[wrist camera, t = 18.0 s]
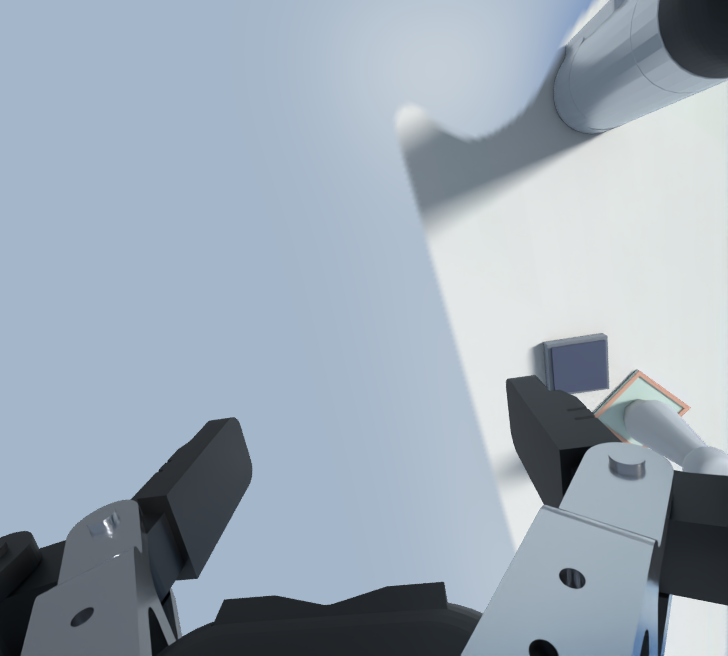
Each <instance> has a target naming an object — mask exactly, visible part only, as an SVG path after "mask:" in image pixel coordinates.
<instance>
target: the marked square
mask: <svg viewBox="0 0 728 656" xmlns="http://www.w3.org/2000/svg"><path fill="white" fill-rule="evenodd" d="M637 399H641V400H658V401H661V402H663V403H666V404H668V405H670V406H671V407H672V408H673V409H674V410H675V411H676V412H677V413H678V414H679V415H680V416H682V415H683V414H685V413H686V412H687V411H688V410H689V409H690V408H691V407H689V406H688V405H687V404H685V403H684V402H682V401H681V400H680V399H678V398H677V397H675V396H674V395H673V394H671V393H670V392H668V391H667V390H666V389H664V388H663V387H661V386H660V385H659V384H657V383H656V382H655V381H653V380H652V379H650V378H649V377H648V376H646V375H645V374H643V373H642V372H641V371H639V370H638V369H637V370H636V371H635V372H634V373H633V374H632V375H631V376H630V377H629V378H628V379H627V380H626V381H625V382H624V383H623V384H622V385H621V386H620V387H619V388H618V389H617V390H616V392H615V393H614V394H613V395H612V396H611V397H610V398H609V399H608V400H607V401H606V402H605V403H604V404H603V405H602V406H601V407H600V408H599V409H598V410H597V411H596V412H595V413H594V415H595V418H598V419H599V420H600V421H601V422H602V423H603V424H604V425H605V426H606V427H607V428H608V429H609V430H610V431H611V432H612V433H613V434H614V435H615V436H616V437H617V438H619V439H620V440H621V441H622V442H623V443H630V444H635V445H640V446H643V447H646V446H644V445H643V444H641V443H639V442H637V441H635V440H634V439H633V438H632V437H631V436H630V434H629V433H628V432H627V431H626V428H625V424H624V420H623V419H624V411H625V407H626V406H628V405H629V404H631V403H632V402H634V401H635V400H637ZM646 448H648V447H646Z"/></svg>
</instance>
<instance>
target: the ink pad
mask: <svg viewBox="0 0 728 656" xmlns="http://www.w3.org/2000/svg"><path fill="white" fill-rule="evenodd" d="M544 354H545V367H546V380H547V389H548V390H549V391H552V390H562V391H564V392H566V393H568V394H574V393H581V392H589V391H596V390H604V389H609V371H608V342H607V335H605V334H603V333H600V334H593V335H587V336H580V337H573V338H567V339H560V340H554V341H547V342H544Z"/></svg>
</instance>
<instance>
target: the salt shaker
mask: <svg viewBox="0 0 728 656" xmlns="http://www.w3.org/2000/svg"><path fill="white" fill-rule="evenodd" d="M623 420H624V424H625V428H626V431H627V432H628V433H629V434H630V436H631V437H632V438H633V439H634V440H635V441H637V442H639V443H641V444H643V445H644V446H646V447H648V448H650V449H652V450H653V451H655V452H657V453H659V454H661V455H662V456H664V457H666V458H668V459H669V460H671V461H673V462H675V463H676V464H678V465H680V466H681V467H682V470H683V472H690V473H701V474H713V475H726V476H728V454H727V453H725V452H724V451H722V450H719V449H717V448H714V447H708V446H707V444H706V443H705V442H704V441H703V440H702V439H701V438H700V437H699V436H698V435H697V434H696V433H695V432H694V430H693V429H692V428H691V427H690V426H689V425H688V424H687V423H686V422H685V421H684V420H683V419H682V417H681V416H680V415H679V414H678V413H677V412H676V411H675V410H674V409H673V408H672V407H671V406H670V405H668V404H666V403H663V402H661V401H658V400H641V399H637V400H635V401H634V402H632V403H631V404H629V405H628V406H626V407H625V411H624V419H623Z"/></svg>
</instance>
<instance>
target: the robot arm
mask: <svg viewBox="0 0 728 656" xmlns="http://www.w3.org/2000/svg"><path fill="white" fill-rule="evenodd" d="M727 80H728V0H610V1H609V2H608V3H607V4H606V5H605V6H604V7H603V8H602V9H601V10H600V11H599V12H598V13H597V14H596V15H595V16H594V17H593V18H592V19H591V20H590V21H589V22H588V23H587V24H586V25H585V26H584V27H583V28H582V29H581V30H580V31H579V32H578V33H577V34H576V35H575V36H574V37H573V38H572V39H571V40H570V42H569V43H568V44H567V45H566V57H565V59H564V61H563V63H562V65H561V66H560V68H559V70H558V73H557V76H556V79H555V84H554V102H555V106H556V110H557V112H558V113H559V115H560V117H561V119H562V120H563V121H564V122H565V123H566V124H567V125H568V126H570V127H571V128H572V129H574V130H577V131H579V132H582V133H590V134H593V133H601V132H604V131H607V130H610V129H613V128H616V127H619V126H621V125H623V124H625V123H627V122H630V121H632V120H635V119H637V118H639V117H642V116H644V115H646V114H649V113H651V112H654V111H656V110H658V109H661V108H663V107H665V106H668V105H670V104H673V103H675V102H677V101H680V100H682V99H684V98H687V97H689V96H692V95H694V94H696V93H699V92H701V91H703V90H706V89H708V88H710V87H713V86H715V85H718V84H720V83H722V82H725V81H727ZM506 391H507V400H508V410H509V419H510V428H511V435H512V439H513V443H514V446H515V449H516V452H517V454H518V456H519V458H520V460H521V461H522V463H523V465H524V467H525V469H526V471H527V473H528V475H529V477H530V479H531V481H532V483H533V484H534V486H535V488H536V490H537V492H538V494H539V496H540V498H541V500H542V502H543V504H544V505H543V506H542V507H541V508H540V510H539V512H538V513H537V515H536V517H535V519H534V521H533V523H532V525H531V526H530V528H529V530H528V532H527V534H526V536H525V538H524V539H523V541H522V543H521V545H520V547H519V549H518V550H517V552H516V554H515V556H514V558H513V560H512V562H511V564H510V565H509V567H508V569H507V571H506V573H505V574H504V576H503V578H502V580H501V582H500V584H499V586H498V587H497V589H496V591H495V593H494V595H493V597H492V598H491V600H490V602H489V604H488V606H487V608H486V610H485V611H484V613H480V612H478V611H476V610H473V609H470V608H467V607H464V606H461V605H456V604H451V603H448V602H447V596H446V591H445V585H444V582H436V583H423V584H411V585H399V586H387V587H384V588H381V589H378V590H375V591H372V592H369V593H365V594H362V595H359V596H356V597H353V598H350V599H347V600H344V601H341V602H338V603H335V604H331V605H321V604H316V603H311V602H306V601H301V600H295V599H290V598H285V597H280V596H263V597H251V598H239V599H227V600H224V601H223V603H222V606H221V608H220V610H219V613H218V614H217V617H216V619H215V621H214V622H212V623H209V624H206V625H204V626H202V627H200V628H197V629H195V630H194V631H192V632H190V633H188V634H186V635H184V636H183V637H182V633H181V627H180V622H179V617H178V611H177V605H176V600H175V596H174V594H173V591H172V589H171V587H172V585H173V583H174V582H175V580H186V579H197V578H198V577H199V575H200V573H201V571H202V570H203V568H204V566H205V564H206V562H207V561H208V559H209V557H210V555H211V553H212V551H213V549H214V547H215V546H216V544H217V542H218V540H219V539H220V537H221V535H222V533H223V531H224V530H225V528H226V526H227V524H228V522H229V520H230V519H231V517H232V515H233V513H234V511H235V509H236V508H237V506H238V504H239V502H240V501H241V499H242V497H243V495H244V493H245V491H246V490H247V488H248V486H249V484H250V482H251V478H252V463H251V459H250V456H249V452H248V449H247V446H246V443H245V439H244V436H243V433H242V429H241V426H240V423H239V421H238V420H237V419H236V418H234V417H233V418H225V419H218V420H211V421H208V422H207V423H206V424H205V426H204V427H203V428H202V429H201V430H200V431H199V432H198V433H197V434H196V435H195V436H194V438H193V439H192V440H191V441H190V442H188V443H187V444H185V445H184V446H182V447H181V448H179V449H178V450H177V451H176V452H175V453H174V454H173V455H172V456H171V458H170V459H169V460H168V462H167V463H165V464H164V465H163V466H162V467H161V468H160V469H159V472H157V473H155V474H154V475H153V477H152V478H151V479H150V480H149V481H148V482H147V483H146V484H145V485H144V486H143V487H142V488H141V489H140V490H139V492H137V493H136V495H135V496H134V497H133V498H132V499H131V500H122V501H117V502H114V503H111V504H108V505H106V506H103V507H102V508H99V509H97V510H96V511H94V512H92V513H91V514H89V515H88V516H86V517H85V518H83V519H82V520H81V521H80V522H78V523H77V524H76V525H75V526H74V527H73V528H72V530H71V531H70V532H69V534H68V536H67V539H66V540H65V541H62V542H59V543H56V544H52V545H49V546H46V547H43V548H40V549H39V547H38V546H37V543H36V541H35V539H34V537H33V535H32V534H31V533H30V532H28V531H21V532H16V533H12V534H9V535H6V536H3V537H1V538H0V656H664V652H665V645H666V637H667V630H668V623H669V615H670V608H671V601H672V595H677V596H682V597H687V598H692V599H697V600H703V601H708V602H713V603H718V604H723V605H728V476H726V475H713V474H701V473H690V472H681V471H676V470H673V467H672V465H671V463H670V462H669V461H668V460H667V459H666V458H665V457H663V456H662V455H661V454H659V453H657V452H655V451H653V450H651V449H649V448H646V447H643V446H640V445H635V444H630V443H623V442H622V441H621V440H620V439H619V438H617V437H616V436H615V435H614V434H613V433H612V432H611V431H610V430H609V429H608V428H607V427H606V426H605V425H604V424H603V423H602V422H601V421H600V420H599V419H598V418H595V415H594V414H593V413H592V412H591V411H590V410H589V409H587V408H586V406H585V405H584V404H583V403H582V402H581V401H580V400H579V399H578V398H577V397H575V396H573V395H571V394H568V393H566V392H564V391H562V390H552V391H549V390H548V389H547V387H546V386H545V385H544V384H543V383H542V382H541V381H540V380H539V379H538V377H537V376H535V375H531V376H524V377H517V378H510V379H507V381H506Z"/></svg>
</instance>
